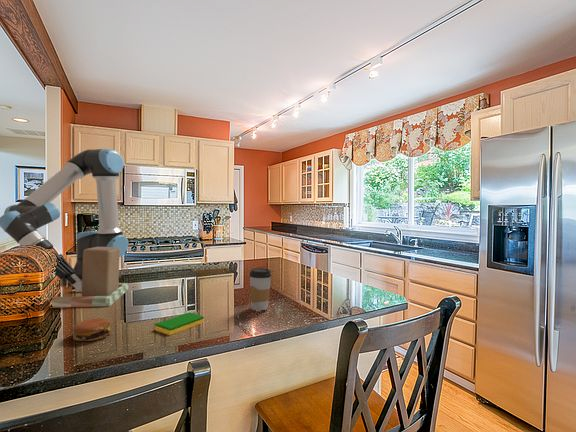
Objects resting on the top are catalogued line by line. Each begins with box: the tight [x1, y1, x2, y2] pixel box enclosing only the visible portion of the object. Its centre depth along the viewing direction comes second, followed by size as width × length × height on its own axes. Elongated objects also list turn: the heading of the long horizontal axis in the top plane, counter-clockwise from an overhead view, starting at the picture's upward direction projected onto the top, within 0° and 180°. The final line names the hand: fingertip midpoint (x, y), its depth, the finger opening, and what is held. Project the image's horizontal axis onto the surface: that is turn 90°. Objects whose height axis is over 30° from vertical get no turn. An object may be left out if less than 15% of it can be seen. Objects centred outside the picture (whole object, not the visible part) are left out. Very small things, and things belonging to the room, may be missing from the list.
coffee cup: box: [249, 267, 272, 312], centre depth 123 cm, size 8×8×15 cm
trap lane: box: [52, 282, 129, 308], centre depth 130 cm, size 24×20×3 cm
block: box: [81, 247, 120, 296], centre depth 130 cm, size 10×10×20 cm
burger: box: [72, 317, 111, 342], centre depth 93 cm, size 10×9×5 cm
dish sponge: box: [154, 312, 205, 336], centre depth 104 cm, size 7×14×2 cm, turn 149°
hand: (82, 288), depth 129 cm, fingers closed
